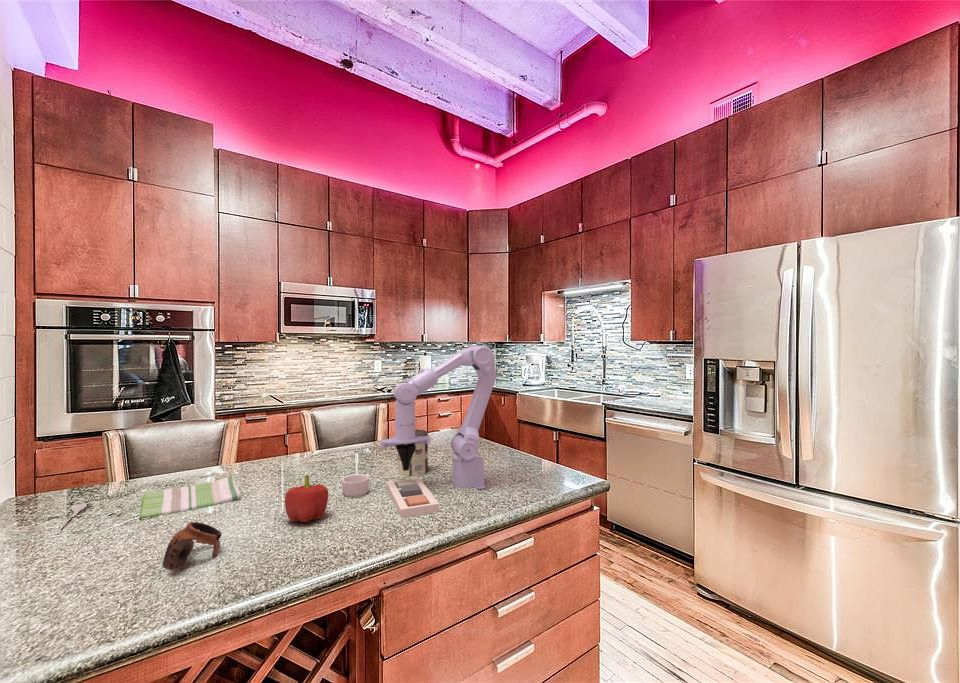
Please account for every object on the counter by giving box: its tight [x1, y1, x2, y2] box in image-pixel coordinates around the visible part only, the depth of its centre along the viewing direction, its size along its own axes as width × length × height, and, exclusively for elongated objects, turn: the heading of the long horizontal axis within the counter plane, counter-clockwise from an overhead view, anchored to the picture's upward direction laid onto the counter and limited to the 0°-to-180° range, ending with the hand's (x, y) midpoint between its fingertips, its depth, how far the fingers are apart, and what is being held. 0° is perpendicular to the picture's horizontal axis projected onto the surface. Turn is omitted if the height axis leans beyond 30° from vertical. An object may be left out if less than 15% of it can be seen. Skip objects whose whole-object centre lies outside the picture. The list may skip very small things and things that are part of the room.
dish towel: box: [139, 475, 242, 520], centre depth 123 cm, size 17×23×4 cm
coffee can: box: [397, 429, 429, 477], centre depth 144 cm, size 10×10×14 cm
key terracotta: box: [406, 495, 428, 507], centre depth 114 cm, size 5×5×2 cm
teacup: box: [341, 473, 370, 498], centre depth 126 cm, size 10×8×5 cm
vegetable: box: [284, 474, 329, 523], centre depth 110 cm, size 11×10×10 cm
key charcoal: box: [401, 484, 421, 497], centre depth 120 cm, size 5×5×2 cm
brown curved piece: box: [162, 521, 223, 570], centre depth 90 cm, size 12×10×8 cm
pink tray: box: [385, 477, 440, 519], centre depth 120 cm, size 10×22×3 cm, turn 22°
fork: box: [70, 502, 93, 518], centre depth 111 cm, size 3×21×3 cm, turn 23°
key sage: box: [395, 478, 415, 489], centre depth 127 cm, size 5×5×2 cm
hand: (405, 469), depth 126 cm, fingers closed
